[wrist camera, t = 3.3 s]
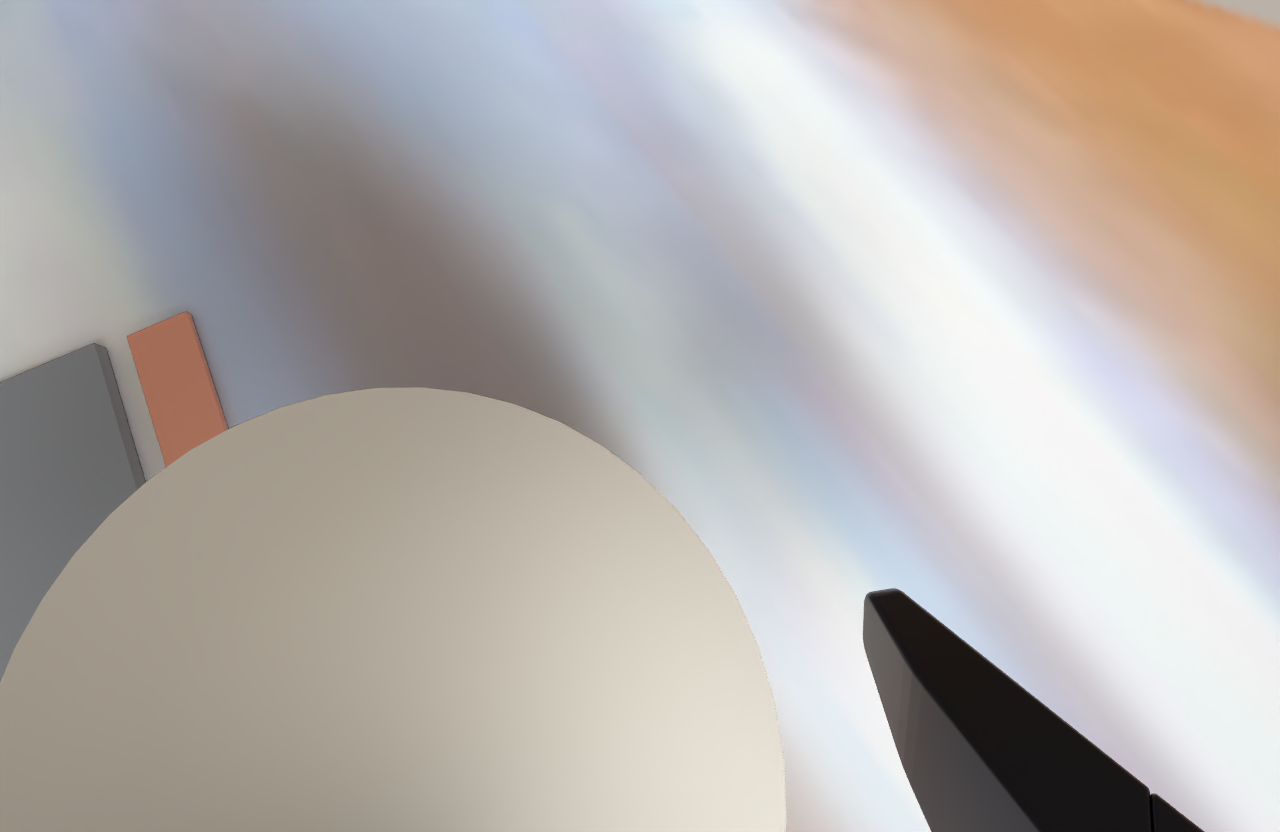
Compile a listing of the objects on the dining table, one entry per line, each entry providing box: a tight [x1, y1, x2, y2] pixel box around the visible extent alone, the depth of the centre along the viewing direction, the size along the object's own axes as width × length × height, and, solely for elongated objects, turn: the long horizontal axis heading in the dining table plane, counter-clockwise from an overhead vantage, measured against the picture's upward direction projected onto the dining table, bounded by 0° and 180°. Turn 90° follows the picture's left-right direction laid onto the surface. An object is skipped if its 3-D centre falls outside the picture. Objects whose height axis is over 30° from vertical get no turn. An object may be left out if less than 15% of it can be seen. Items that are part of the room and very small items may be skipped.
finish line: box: [127, 312, 228, 467], centre depth 17 cm, size 22×2×1 cm, turn 24°
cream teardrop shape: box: [0, 387, 786, 832], centre depth 11 cm, size 5×5×13 cm
